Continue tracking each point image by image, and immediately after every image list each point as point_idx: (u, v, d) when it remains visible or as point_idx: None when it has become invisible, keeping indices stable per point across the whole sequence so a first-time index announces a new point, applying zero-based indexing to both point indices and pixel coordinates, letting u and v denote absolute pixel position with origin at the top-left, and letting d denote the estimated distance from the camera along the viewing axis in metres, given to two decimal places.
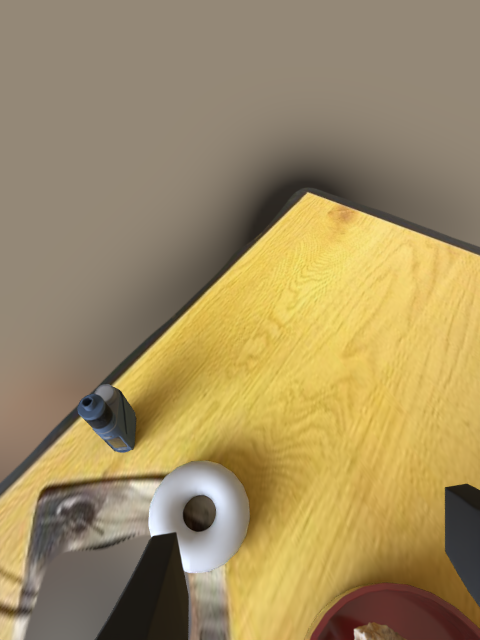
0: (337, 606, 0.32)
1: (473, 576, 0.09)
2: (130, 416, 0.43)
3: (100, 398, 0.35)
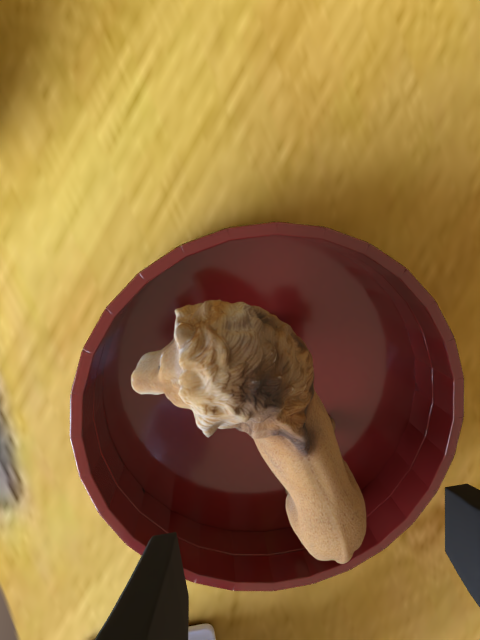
0: (164, 263, 0.15)
1: (473, 576, 0.09)
2: None
3: None
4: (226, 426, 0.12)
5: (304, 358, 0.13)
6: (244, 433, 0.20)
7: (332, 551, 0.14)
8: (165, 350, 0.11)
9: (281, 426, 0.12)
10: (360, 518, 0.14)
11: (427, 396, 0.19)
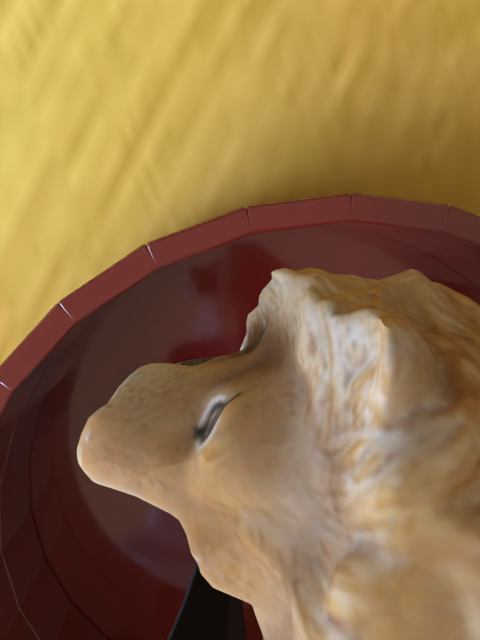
0: (111, 282, 0.07)
1: None
2: None
3: None
4: None
5: None
6: None
7: None
8: (241, 386, 0.03)
9: None
10: None
11: None
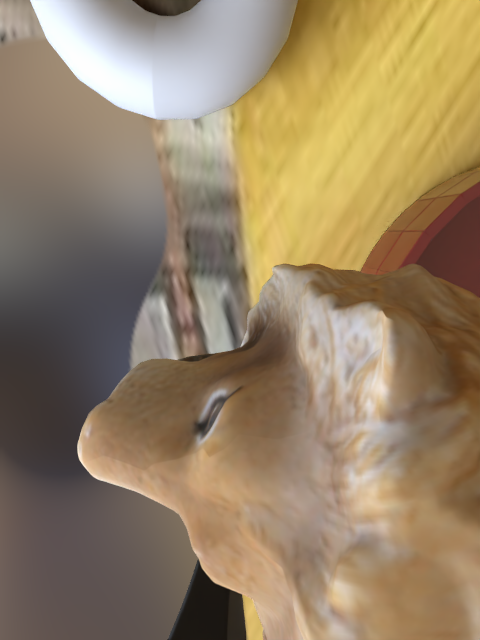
0: None
1: None
2: None
3: None
4: None
5: None
6: None
7: None
8: (243, 380, 0.03)
9: None
10: None
11: None
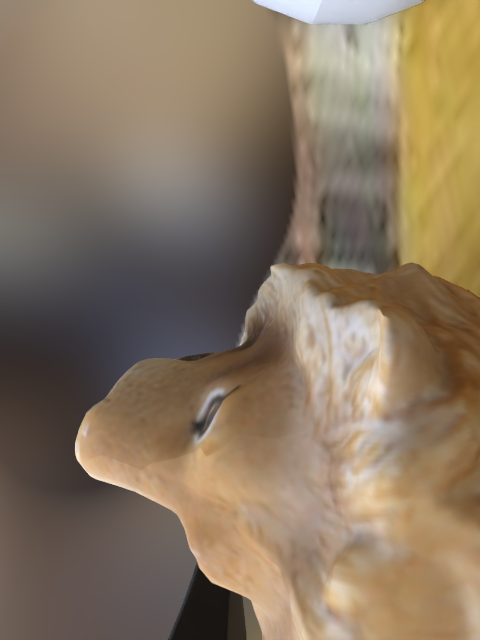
0: None
1: None
2: None
3: None
4: None
5: None
6: None
7: None
8: (240, 379, 0.03)
9: None
10: None
11: None
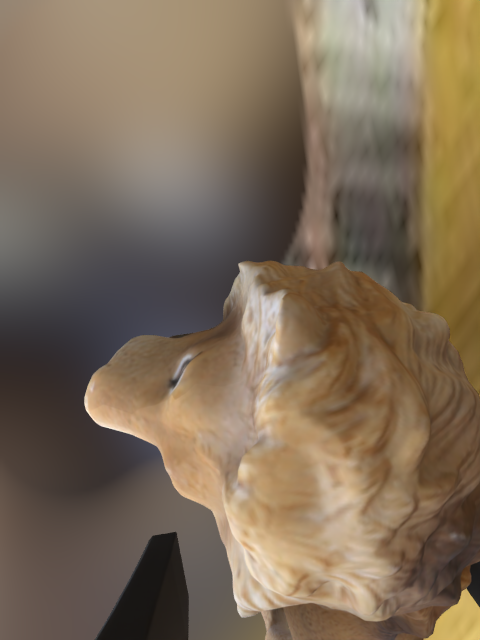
0: None
1: (473, 576, 0.09)
2: None
3: None
4: None
5: None
6: None
7: None
8: (203, 347, 0.04)
9: (405, 615, 0.05)
10: None
11: None
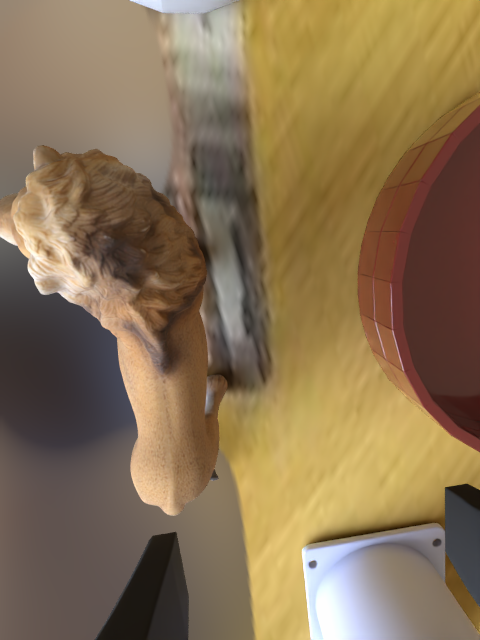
0: None
1: (473, 576, 0.09)
2: None
3: None
4: (72, 296, 0.10)
5: (191, 262, 0.11)
6: None
7: (158, 492, 0.13)
8: None
9: (135, 319, 0.10)
10: (200, 466, 0.13)
11: None
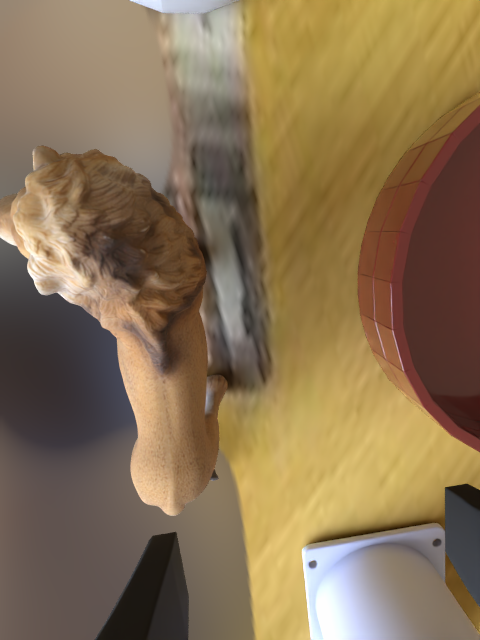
0: None
1: (473, 576, 0.09)
2: None
3: None
4: (72, 297, 0.10)
5: (190, 262, 0.11)
6: None
7: (158, 493, 0.13)
8: None
9: (134, 319, 0.10)
10: (200, 466, 0.13)
11: None
